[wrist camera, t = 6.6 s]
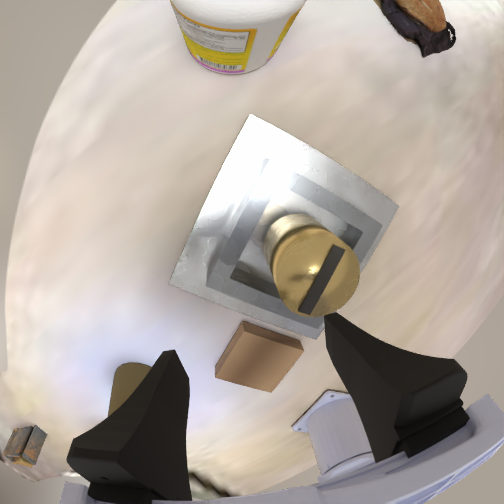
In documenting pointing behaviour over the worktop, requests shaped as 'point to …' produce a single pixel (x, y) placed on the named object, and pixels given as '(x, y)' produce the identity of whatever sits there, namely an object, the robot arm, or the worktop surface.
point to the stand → (258, 357)
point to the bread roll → (420, 23)
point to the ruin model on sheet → (25, 446)
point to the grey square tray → (273, 221)
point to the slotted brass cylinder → (310, 265)
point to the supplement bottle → (234, 31)
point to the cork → (126, 383)
